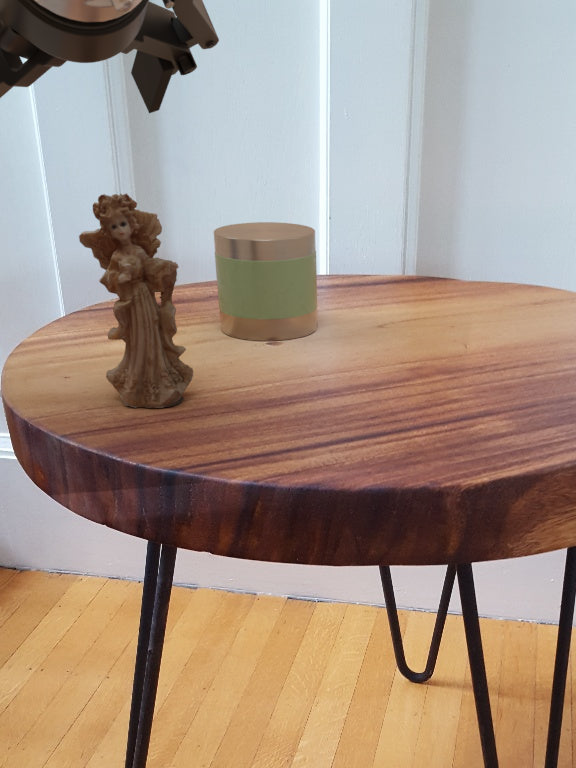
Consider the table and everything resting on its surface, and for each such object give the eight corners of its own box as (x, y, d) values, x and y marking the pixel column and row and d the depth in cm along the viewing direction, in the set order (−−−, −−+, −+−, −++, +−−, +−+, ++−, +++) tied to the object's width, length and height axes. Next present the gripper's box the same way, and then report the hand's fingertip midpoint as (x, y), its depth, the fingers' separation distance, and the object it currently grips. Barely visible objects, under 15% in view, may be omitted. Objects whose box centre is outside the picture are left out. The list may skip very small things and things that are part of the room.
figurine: (102, 413, 74) (69, 200, 66) (102, 390, 79) (71, 188, 70) (198, 407, 75) (178, 197, 67) (192, 384, 80) (173, 185, 72)
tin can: (209, 338, 92) (201, 238, 87) (233, 314, 100) (227, 220, 95) (308, 343, 91) (305, 241, 86) (324, 317, 99) (323, 223, 94)
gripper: (-145, 110, 42) (-98, 244, 62) (336, -45, 49) (241, 121, 68) (-243, -74, 40) (-162, 125, 60) (273, -211, 47) (193, 10, 66)
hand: (53, 123), depth 64 cm, fingers open, 13 cm apart
